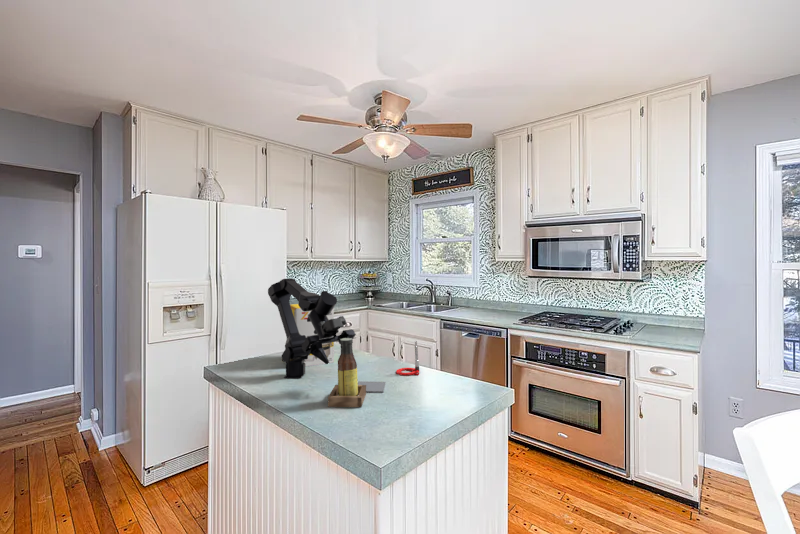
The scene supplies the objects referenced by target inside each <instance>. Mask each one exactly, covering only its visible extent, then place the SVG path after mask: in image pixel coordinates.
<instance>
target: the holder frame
mask: <svg viewBox="0 0 800 534" xmlns="http://www.w3.org/2000/svg"><path fill="white" fill-rule="evenodd" d="M366 396H367V393H366V385H358V396H339V391H338V384H335V385H334V387H333V388H332V390H331V391H330V393H329V395H328V396H327V407H328V408H329V407H330V408H362V406H363V404H364V401H365V399H366Z"/></svg>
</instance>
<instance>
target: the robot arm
mask: <svg viewBox="0 0 800 534" xmlns="http://www.w3.org/2000/svg"><path fill="white" fill-rule="evenodd" d="M267 295H268V297H269V299H270V301H271V302H272V303H273V304H274V305H275V306H276V307H277V309H278V313H279V317H280V321H281V323H282V325H283V330H284V333H285V336H286V341H285V343H284V344H285V345H284V348H285V349H284V350H283V352H282V355H281V360H282V362H284V363H285V375H284V376H283V377H284V379H301V378H302V377H304V375H305V374H306V367H305V363H304V360H305V359H308V354H312V355H314V356H316V357H317V358H319V359H320V360H321V361H323V362H324V363H326V364H325V365H329V364H330V363H329V361H328V358H327V356H326V354H325V352H324V350H323V348H322V344H325V343H331V342H334V343H335V342H338V344H339V345H340V348H341V344H340V339H343V338H352V340H353V339H354V338H355V337H356V335H357V333H356V332H355V330H354V329H351V328H349V329H345V330H342V331H341V333H340V334H338V333H339V332H340V329H342V328H344V326H346V324H347V320H346V318H345V317H344V316H343V315H340V316H338V317H337V318H335V317H334V319H330V320H329V319H328V318H327V316H326V315H329V314H330V313H331V311H332V310H333V308H335V306H336V305H337V302H338V299H337V296H335V295H334V294H332V293H330V292H329V291H328V290H322V291H321V292H320V294H317V293H316V292H311V291H308V290H307V289H305V288H304V287H303V286H302V285H300V284H299V283H298V282H297V281H296V279H294V278H291V277H290V278H283V279H280V280H279V281H278V282H275V283H273V284H271V285H270V286H269V287H268V289H267ZM292 296H293V298H294V299H295V300H297V301H298V303H297V304H298V305H299V307H300V308H301V309H302V311H304V312H305V311H311V312H310V314H309V315H308V318H307V322H311V323H312V325H313V327H314V329H315V330H314V334H317V335H312V336H307V338H306V336H305V335H300V334H299V331H298V328H297V325H296V322H295V318H294V315H293V312H292V309H291V306H290V304H291V303H290V300H291V298H292ZM337 334H338V335H337ZM328 363H329V364H328Z"/></svg>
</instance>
